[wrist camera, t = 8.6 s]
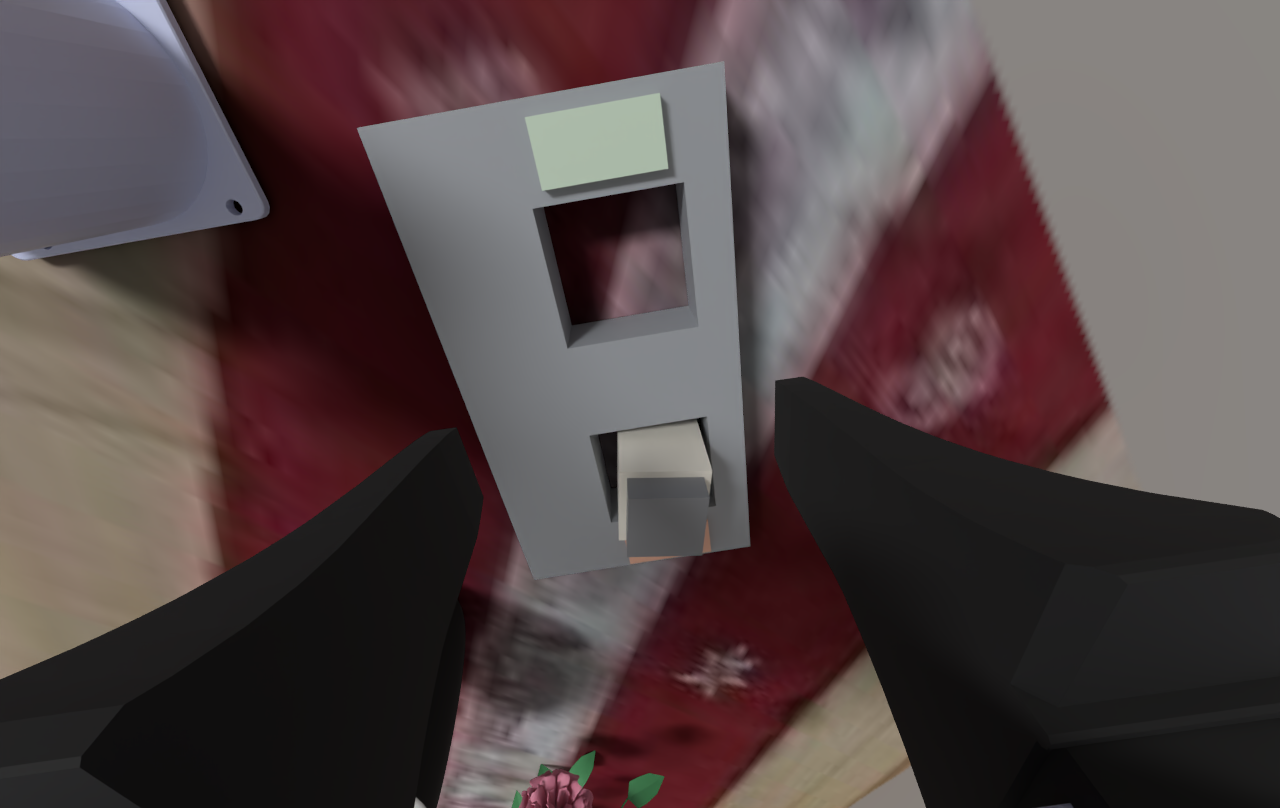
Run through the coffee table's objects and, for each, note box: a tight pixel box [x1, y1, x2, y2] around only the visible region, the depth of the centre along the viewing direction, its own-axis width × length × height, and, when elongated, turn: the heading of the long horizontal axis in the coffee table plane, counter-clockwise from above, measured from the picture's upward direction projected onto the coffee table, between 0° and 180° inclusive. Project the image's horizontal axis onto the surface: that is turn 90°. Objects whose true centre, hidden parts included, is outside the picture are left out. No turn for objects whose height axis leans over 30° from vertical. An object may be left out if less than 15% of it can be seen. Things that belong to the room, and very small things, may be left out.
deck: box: [357, 61, 750, 580], centre depth 20 cm, size 11×20×3 cm, turn 9°
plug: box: [617, 418, 712, 557], centre depth 21 cm, size 4×4×6 cm
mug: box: [414, 600, 465, 808], centre depth 25 cm, size 12×9×10 cm
